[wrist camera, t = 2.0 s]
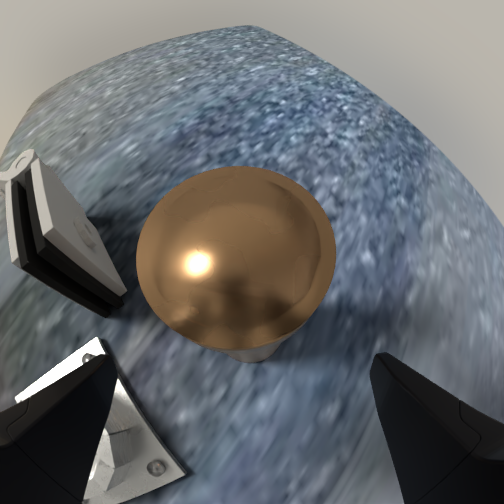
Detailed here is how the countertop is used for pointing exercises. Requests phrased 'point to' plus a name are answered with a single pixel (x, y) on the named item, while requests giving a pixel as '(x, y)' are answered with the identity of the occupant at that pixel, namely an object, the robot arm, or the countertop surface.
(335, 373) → the countertop surface
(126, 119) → the countertop surface
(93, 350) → the flange
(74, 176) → the countertop surface
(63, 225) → the hinge
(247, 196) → the door knob
